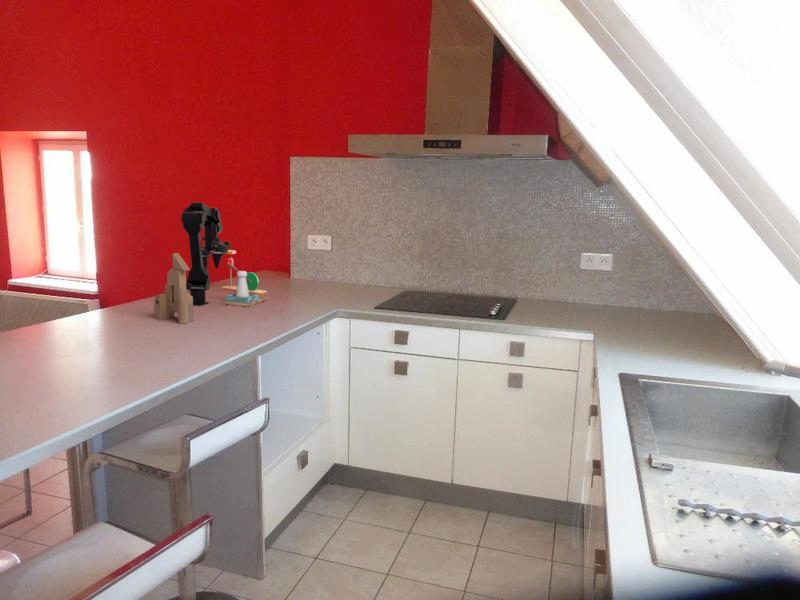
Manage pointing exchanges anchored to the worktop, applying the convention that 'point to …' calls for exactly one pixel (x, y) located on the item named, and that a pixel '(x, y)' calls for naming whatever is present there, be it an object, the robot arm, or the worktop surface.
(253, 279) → the crank mechanism
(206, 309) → the worktop surface
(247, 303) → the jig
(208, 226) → the robot arm
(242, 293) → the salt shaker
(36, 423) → the worktop surface
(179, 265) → the wooden toy
